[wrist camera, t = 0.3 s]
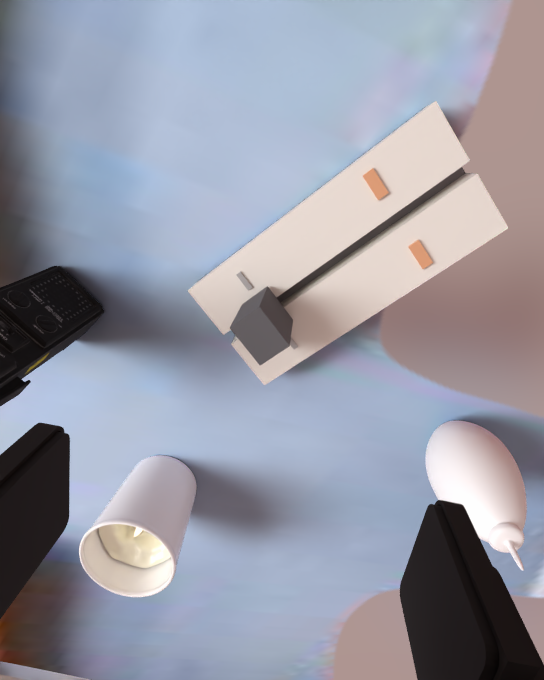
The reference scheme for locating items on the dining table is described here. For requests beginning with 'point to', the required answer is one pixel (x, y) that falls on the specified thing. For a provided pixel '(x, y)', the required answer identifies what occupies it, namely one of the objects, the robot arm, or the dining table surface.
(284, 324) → the fader tab
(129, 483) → the candle holder
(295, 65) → the dining table surface
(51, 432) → the robot arm
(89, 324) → the portable radio
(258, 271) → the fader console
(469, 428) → the sauce bottle
